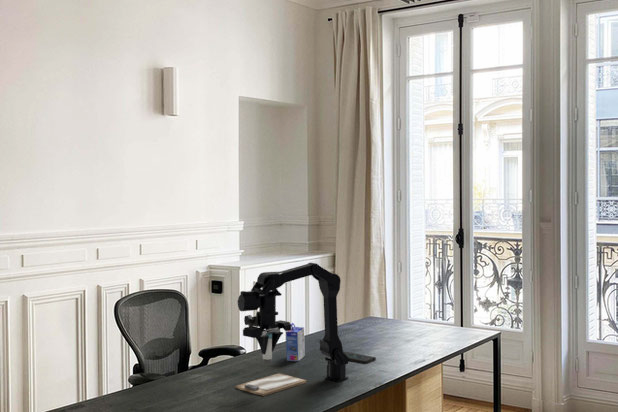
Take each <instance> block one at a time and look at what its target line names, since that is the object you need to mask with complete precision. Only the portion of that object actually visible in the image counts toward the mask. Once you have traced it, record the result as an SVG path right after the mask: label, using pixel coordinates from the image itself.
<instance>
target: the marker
mask: <svg viewBox="0 0 618 412" xmlns="http://www.w3.org/2000/svg"><path fill="white" fill-rule="evenodd" d="M266 335H267V336H269V338H268V344H267V349H266V353H265V354H262V360H263V363H266V364H268V363H271V362H272V359H273V352H272V333H269V332H266Z"/></svg>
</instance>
